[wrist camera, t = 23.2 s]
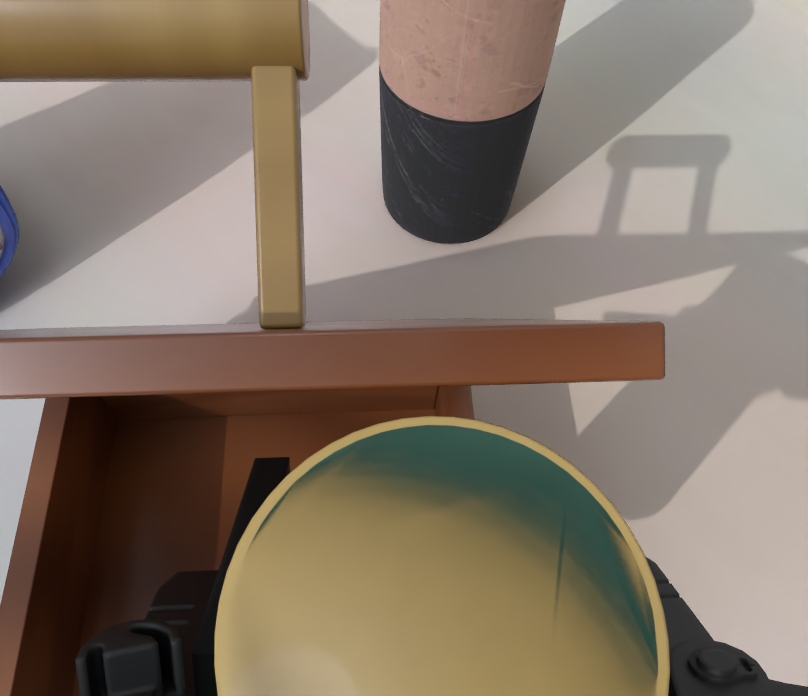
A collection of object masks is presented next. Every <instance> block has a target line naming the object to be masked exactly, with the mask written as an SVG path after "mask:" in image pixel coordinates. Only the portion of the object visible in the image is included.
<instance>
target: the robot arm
mask: <svg viewBox="0 0 808 696" xmlns="http://www.w3.org/2000/svg"><path fill="white" fill-rule="evenodd" d="M288 474H290V457H271V458H255V460H254V463H253V466H252V469H251V472H250V475H249V478H248V481H247V484H246V487H245V490H244V493H243V496H242V500H241V503H240V506H239V509H238V512H237V515H236V518H235V521H234V524H233V527H232V530H231V533H230V536H229V540H228V543H227V546H226V549H225V552H224V555H223V558H222V561H221V564H220V567H219V570H208V571H186V572H177V573H176V574H174V575H173V576H172V577H171V578H170V579H169V580H168V581H166V582H165V583H164V584H163V585H162V586H161V587H160V588H159V589H158V591H157V593H156V595H155V597H154V599H153V602H152V604H151V606H150V611H148V613H147V615H146V617H145V619H144V620H131V621H128V622H124V623H121V624H117V625H114V626H111V627H109V628H107V629H105V630H104V631H102V632H100V633H98V634H96V635H94V636H93V637H92V638H91V639H90V640H89V641H88V642H87V643H85V644H84V645H83V646H82V647H81V649H80V651H79V653H78V655H77V657H76V659H75V662H76V669H77V676H78V683H79V690H80V696H218V693H217V685H216V676H215V668H214V640H215V626H216V619H217V611H218V604H219V599H220V595H221V591H222V588H223V584H224V580H225V576H226V572H227V570H228V567H229V565H230V562H231V560H232V557H233V555H234V552H235V550H236V547H237V545H238V543H239V541H240V539H241V537H242V536H243V534H244V532H245V530H246V528H247V526H248V525H249V523H250V521H251V519H252V518H253V516H254V515H255V514H256V512H257V511H258V509H259V508H260V507H261V505H262V504H263V502H264V501H265V500H266V498H267V497H268V496H269V495H270V493H271V492H272V491H273V490H274V489H275V488H276V487H277V486H278V485H279V484H280V483H281V482H282V481H283V479H284V478H285V477H286V476H287V475H288ZM645 558H646V560H647V562H648V565H649V567H650V570H651V572H652V574H653V577H654V579H655V582H656V585H657V589H658V592H659V596H660V599H661V603H662V606H663V610H664V615H665V621H666V628H667V634H668V640H669V659H670V680H669V693H668V696H808V687H805V686H799V685H793V684H787V683H783V682H778V681H774V680H770V679H768V677H767V675H766V673H765V672H764V670H763V669H762V668H761V666H760V665H759V664H758V662H757V661H756V660H754V659H753V658H752V657H750V656H749V655H747V654H746V653H745V652H743V651H742V650H739V649H737V648H735V647H732V646H730V645H728V644H725V643H722V642H717V641H714V640H713V639H712V637H711V636H710V635H709V633H708V632H707V631H706V629H705V628H704V627H703V625H702V624H701V623H700V621H699V620H698V619H697V617H696V616H695V615H694V613H693V612H692V611H691V609H690V608H689V607H688V605H687V604H686V603H685V601H684V600H683V599H682V598H680V597H679V593H678V592H677V591H676V589H675V588H674V587H673V586H672V584H669V580H668V579H667V578H666V576H665V575H664V574H663V572H662V571H661V570H660V568H659V567H658V566H657V564H656V563H655V562H653V561H651V560H650V559H648V558H647V557H645Z"/></svg>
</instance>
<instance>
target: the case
mask: <svg viewBox="0 0 808 696" xmlns="http://www.w3.org/2000/svg"><path fill="white" fill-rule="evenodd" d="M424 416H441V417H458V418H465V419H471V420H474V413H473V404H472V395H471V386H437V387H403V388H369V389H335V390H301V391H267V392H233V393H199V394H165V395H131V396H98V397H64V398H46V399H45V404H44V408H43V413H42V418H41V422H40V427H39V431H38V436H37V440H36V445H35V450H34V454H33V459H32V463H31V468H30V472H29V477H28V482H27V486H26V491H25V495H24V500H23V504H22V509H21V514H20V518H19V523H18V527H17V532H16V536H15V541H14V546H13V550H12V555H11V559H10V564H9V569H8V573H7V578H6V582H5V587H4V591H3V596H2V601H1V605H0V696H80V690H79V683H78V676H77V669H76V662H75V659H76V657H77V655H78V653H79V651H80V649H81V647H82V646H83V645H84V644H85V643H87V642H88V641H89V640H90V639H91V638H92V637H93V636H94V635H96V634H98V633H100V632H102V631H104V630H105V629H107V628H109V627H111V626H114V625H117V624H121V623H124V622H128V621H131V620H144V619H145V617H146V615H147V613H148V611H150V606H151V604H152V602H153V599H154V597H155V595H156V593H157V591H158V589H159V588H160V587H161V586H162V585H163V584H164V583H165V582H166V581H168V580H169V579H170V578H171V577H172V576H173V575H174V574H176V573H177V572H186V571H208V570H219V567H220V564H221V561H222V558H223V555H224V552H225V549H226V546H227V543H228V540H229V536H230V533H231V530H232V527H233V524H234V521H235V518H236V515H237V512H238V509H239V506H240V503H241V500H242V496H243V493H244V490H245V487H246V484H247V481H248V478H249V475H250V472H251V469H252V466H253V463H254V460H255V458H271V457H290V473H291V472H292V471H293V470H294V469H295V468H297V467H298V466H299V465H300V464H301V463H303V462H304V461H305V460H306V459H307V458H309V457H310V456H312V455H313V454H315V453H316V452H318V451H320V450H321V449H323V448H324V447H326V446H327V445H329V444H330V443H333V442H335V441H337V440H339V439H341V438H343V437H345V436H347V435H349V434H351V433H353V432H356V431H359V430H361V429H364V428H367V427H370V426H373V425H376V424H379V423H384V422H389V421H393V420H398V419H402V418H413V417H424Z"/></svg>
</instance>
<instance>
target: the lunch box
mask: <svg viewBox="0 0 808 696" xmlns="http://www.w3.org/2000/svg"><path fill="white" fill-rule="evenodd" d="M18 238H19V228H18V222H17V218H16V215H15V212H14V210H13V208H12V206H11V204H10V202H9V199H8V198H7V196H6V194H5V193H4V191H3V189H2V187H1V186H0V276H1V275H2V274H3V272H4V271H5V269H6V268H7V266H8V265H9V263H10V261H11V259H12V257H13V255H14V253H15V250H16V246H17V243H18Z"/></svg>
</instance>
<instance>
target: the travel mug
mask: <svg viewBox="0 0 808 696" xmlns="http://www.w3.org/2000/svg"><path fill="white" fill-rule="evenodd" d="M564 5H565V0H380V44H379V63H380V64H379V77H380V114H381V151H382V181H383V194H384V200H385V204H386V206H387V209H388V211H389V213H390V214H391V216H392V217H393V219H394V220H395V221H396V222H397V223H398V224H399V225H400V226H401V227H403V228H404V229H405V230H407V231H408V232H410V233H411V234H413V235H415V236H417V237H420V238H422V239H425V240H429V241H432V242H438V243H450V244H452V243H463V242H468V241H472V240H475V239H478V238H480V237H483V236H485V235H486V234H488V233H490V232H491V231H492V230H494V229H495V228H496V227H497V226H498V225H499V224H500V223H501V221H502V220H503V219H504V217H505V215H506V214H507V212H508V209H509V206H510V203H511V200H512V197H513V193H514V190H515V187H516V184H517V180H518V177H519V173H520V170H521V166H522V163H523V159H524V156H525V153H526V149H527V146H528V142H529V139H530V135H531V132H532V128H533V125H534V121H535V118H536V115H537V111H538V108H539V104H540V101H541V97H542V94H543V90H544V87H545V83H546V79H547V76H548V72H549V68H550V63H551V59H552V55H553V51H554V47H555V42H556V38H557V34H558V30H559V26H560V21H561V17H562V13H563V9H564Z"/></svg>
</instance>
